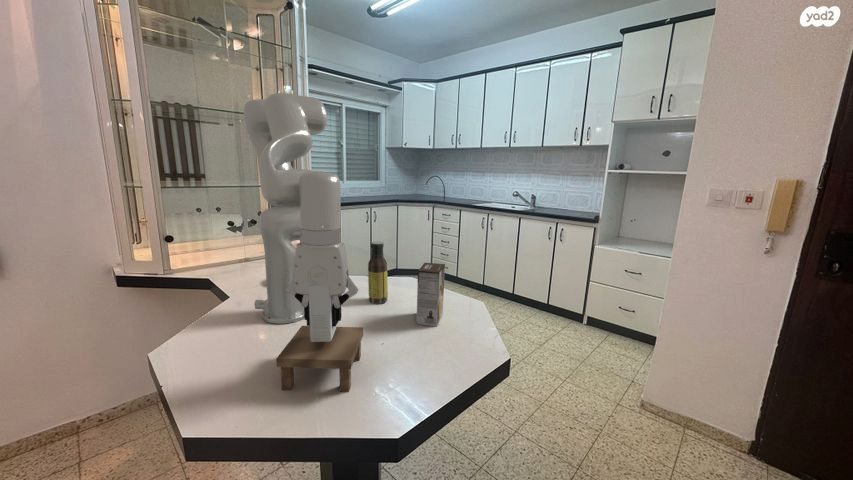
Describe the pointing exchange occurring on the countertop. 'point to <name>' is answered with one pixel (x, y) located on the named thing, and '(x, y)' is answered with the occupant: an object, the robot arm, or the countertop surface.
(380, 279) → the sauce bottle
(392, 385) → the countertop surface
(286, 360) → the walnut stool
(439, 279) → the coffee box
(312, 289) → the skincare box
